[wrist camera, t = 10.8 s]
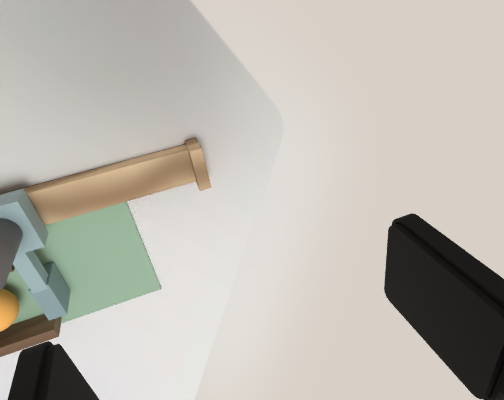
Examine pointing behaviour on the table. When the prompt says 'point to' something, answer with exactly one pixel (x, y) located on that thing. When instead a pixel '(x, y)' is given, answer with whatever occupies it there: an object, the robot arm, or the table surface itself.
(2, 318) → the ball
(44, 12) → the table surface
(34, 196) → the rail
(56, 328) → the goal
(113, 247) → the felt mat
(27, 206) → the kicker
